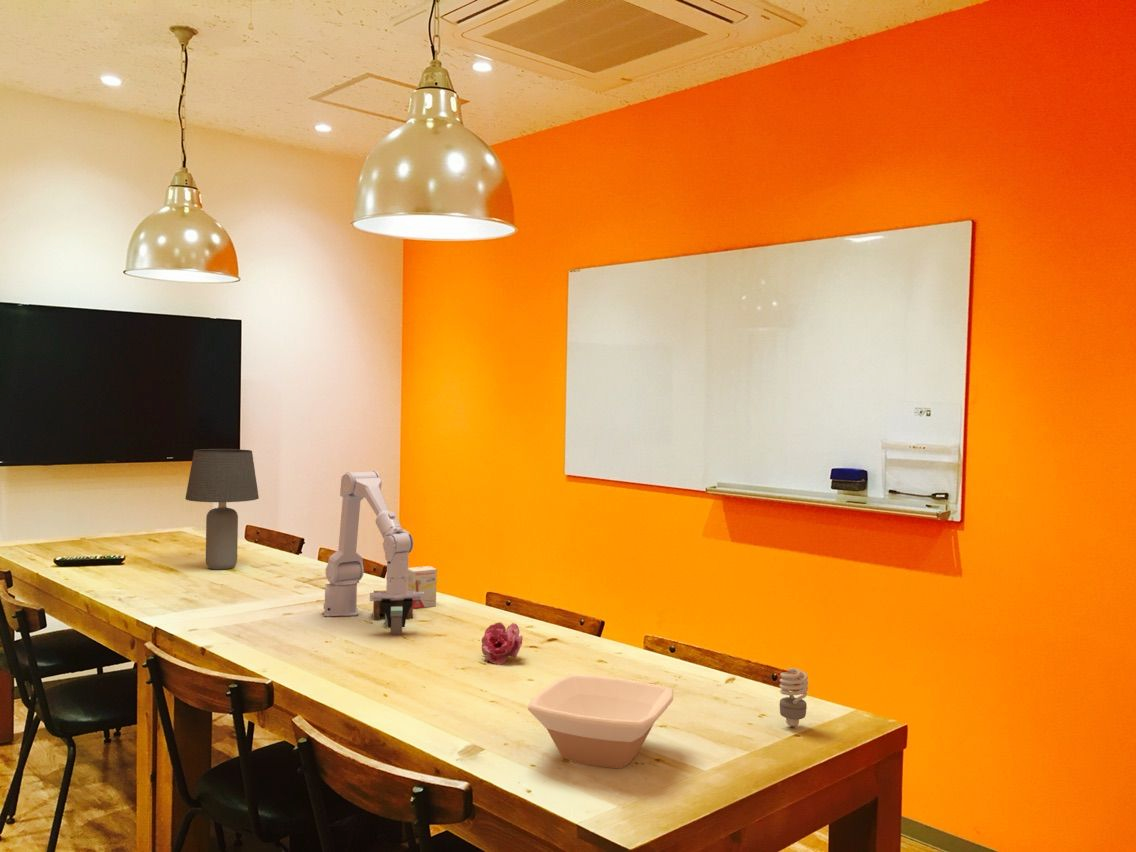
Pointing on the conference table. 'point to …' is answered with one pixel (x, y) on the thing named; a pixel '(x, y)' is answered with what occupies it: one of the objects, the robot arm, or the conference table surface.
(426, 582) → the ink box
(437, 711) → the conference table surface
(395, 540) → the robot arm
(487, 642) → the flower
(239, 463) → the lamp
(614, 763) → the bowl
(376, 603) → the walnut cubby
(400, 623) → the block with rod
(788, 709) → the light bulb
